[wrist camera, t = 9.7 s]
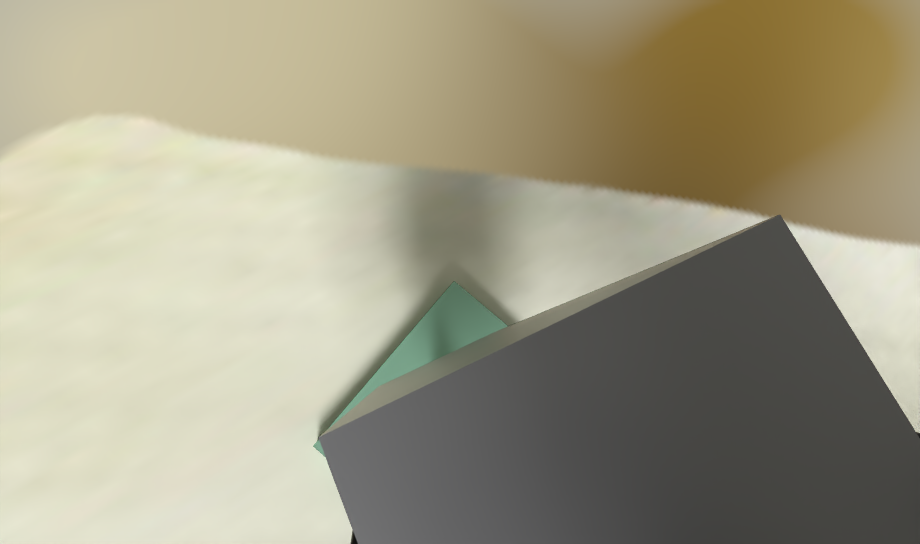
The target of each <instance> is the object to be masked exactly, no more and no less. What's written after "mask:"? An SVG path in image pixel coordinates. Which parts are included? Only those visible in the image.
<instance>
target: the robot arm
mask: <svg viewBox="0 0 920 544" xmlns="http://www.w3.org/2000/svg"><path fill="white" fill-rule="evenodd" d="M916 433H917V435H918V436H919V438H920V433H918V432H916ZM351 544H358V542H357V540H356V537H355V534H354V532H353V531H352V538H351Z"/></svg>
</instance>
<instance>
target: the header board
mask: <svg viewBox="0 0 920 544" xmlns="http://www.w3.org/2000/svg"><path fill="white" fill-rule="evenodd" d="M505 327H508V326H507V325H506V324H505V323H504V322H503V321H501V320H500V319H499V318H498V317H497V316H495V315H494V314H493V313H492V312H491V311H489V310H488V309H487V308H486V307H485V306H483V305H482V304H481V303H480V302H479V301H477V300H476V299H475V298H474V297H473V296H472V295H470V294H469V293H468V292H467V291H466V290H464V289H463V288H462V287H461V286H460V285H458V284H457V283H456V282H455V281H454V282H453V283H452V284H451V285H450V286H449V287H448V289H447V290H446V291H445V292H444V293H443V294H442V296H441V297H440V298H439V299H438V300H437V301H436V303H435V304H434V305H433V306H432V307H431V309H430V310H429V311H428V312H427V313H426V314H425V316H424V317H423V318H422V319H421V320H420V321H419V323H418V324H417V325H416V326H415V327H414V328H413V330H412V331H411V332H410V333H409V334H408V335H407V337H406V338H405V339H404V340H403V341H402V343H401V344H400V345H399V346H398V347H397V348H396V350H395V351H394V352H393V353H392V354H391V355H390V357H389V358H388V359H387V360H386V361H385V362H384V364H383V365H382V366H381V367H380V368H379V369H378V371H377V372H376V373H375V374H374V375H373V376H372V378H371V379H370V380H369V381H368V382H367V384H366V385H365V386H364V387H363V388H362V389H361V391H360V392H359V393H358V394H357V395H356V396H355V398H354V399H353V400H352V401H351V402H350V403H349V405H348V406H347V407H346V408H345V409H344V410H343V412H342V413H341V414H340V415H339V416H338V417H337V419H336V420H335V421H334V422H333V423H332V425H334V424H335V423H336V422H337V421H338V420H339V419H341V418H342V417H343V416H344V415H345V414H347V413H348V412H349V411H350V410H351V409H353V408H354V407H355V406H356V405H357V404H358V403H360V402H361V401H362V400H363V399H364V398H366V397H367V396H368V395H369V394H370V393H371V392H373V391H374V390H375V389H376V388H377V387H379V386H380V385H383V384H385V383H387V382H389V381H391V380H393V379H395V378H398V377H400V376H402V375H404V374H406V373H408V372H410V371H412V370H415V369H417V368H419V367H421V366H423V365H425V364H427V363H430V362H432V361H434V360H436V359H438V358H440V357H442V356H444V355H447V354H449V353H451V352H453V351H455V350H457V349H459V348H462V347H464V346H466V345H468V344H470V343H472V342H474V341H476V340H479V339H481V338H483V337H485V336H487V335H489V334H491V333H494V332H496V331H498V330H501V329H503V328H505ZM332 425H331V426H332ZM331 426H330V427H331ZM330 427H329V428H330ZM329 428H328V429H329ZM328 429H327V430H328ZM313 447H315V448H316V449H317V450H318V451H319V452H320V453H321V454H323V455H324V456H325V454H324V451H323V449H322V446H321V443H320V441H319V440H318V441H317V442H316V443H315V444H314V446H313Z"/></svg>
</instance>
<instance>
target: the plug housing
mask: <svg viewBox="0 0 920 544" xmlns="http://www.w3.org/2000/svg"><path fill="white" fill-rule="evenodd" d="M318 438H319V441H320V443H321V446H322V449H323V451H324V454H325V457H326V460H327V462H328V465H329V468H330V470H331V473H332V476H333V478H334V481H335V484H336V486H337V489H338V492H339V494H340V497H341V500H342V502H343V505H344V508H345V510H346V513H347V516H348V518H349V521H350V524H351V526H352V529H353V532H354V534H355V537H356V540H357V542H358V544H920V438H919V436H918V435H917V433H916V432H915V430H914V428H913V427H912V425H911V424H910V422H909V420H908V419H907V417H906V416H905V414H904V412H903V411H902V409H901V408H900V406H899V404H898V403H897V401H896V400H895V398H894V396H893V395H892V393H891V392H890V390H889V388H888V387H887V385H886V384H885V382H884V380H883V379H882V377H881V376H880V374H879V372H878V371H877V369H876V368H875V366H874V364H873V363H872V361H871V360H870V358H869V356H868V355H867V353H866V352H865V350H864V348H863V347H862V345H861V344H860V342H859V340H858V339H857V337H856V336H855V334H854V332H853V331H852V329H851V327H850V326H849V324H848V323H847V321H846V319H845V318H844V316H843V315H842V313H841V311H840V310H839V308H838V307H837V305H836V303H835V302H834V300H833V299H832V297H831V295H830V294H829V292H828V291H827V289H826V287H825V286H824V284H823V283H822V281H821V279H820V278H819V276H818V275H817V273H816V271H815V270H814V268H813V267H812V265H811V263H810V262H809V260H808V259H807V257H806V255H805V254H804V252H803V251H802V249H801V247H800V246H799V244H798V243H797V241H796V239H795V238H794V236H793V235H792V233H791V231H790V230H789V228H788V227H787V225H786V223H785V222H784V220H783V219H782V217H781V215H777V216H775V217H773V218H770V219H768V220H765V221H763V222H760V223H758V224H756V225H753V226H751V227H748V228H746V229H743V230H741V231H739V232H736V233H734V234H731V235H729V236H726V237H724V238H722V239H719V240H717V241H714V242H712V243H709V244H707V245H705V246H702V247H700V248H697V249H695V250H692V251H690V252H688V253H685V254H683V255H680V256H678V257H675V258H673V259H671V260H668V261H666V262H663V263H661V264H658V265H656V266H654V267H651V268H649V269H646V270H644V271H641V272H639V273H637V274H634V275H632V276H629V277H627V278H624V279H622V280H620V281H617V282H615V283H612V284H610V285H607V286H605V287H603V288H600V289H598V290H595V291H593V292H590V293H588V294H586V295H583V296H581V297H578V298H576V299H573V300H571V301H569V302H566V303H564V304H561V305H559V306H556V307H554V308H552V309H549V310H547V311H544V312H542V313H539V314H537V315H535V316H532V317H530V318H527V319H525V320H522V321H520V322H518V323H515V324H513V325H510V326H508V327H505V328H503V329H501V330H498V331H496V332H494V333H491V334H489V335H487V336H485V337H483V338H481V339H479V340H476V341H474V342H472V343H470V344H468V345H466V346H464V347H462V348H459V349H457V350H455V351H453V352H451V353H449V354H447V355H444V356H442V357H440V358H438V359H436V360H434V361H432V362H430V363H427V364H425V365H423V366H421V367H419V368H417V369H415V370H412V371H410V372H408V373H406V374H404V375H402V376H400V377H398V378H395V379H393V380H391V381H389V382H387V383H385V384H383V385H380V386H379V387H377V388H376V389H375V390H374V391H373V392H371V393H370V394H369V395H368V396H367V397H366V398H364V399H363V400H362V401H361V402H360V403H358V404H357V405H356V406H355V407H354V408H353V409H351V410H350V411H349V412H348V413H347V414H345V415H344V416H343V417H342V418H341V419H339V420H338V421H337V422H336V423H335V424H334V425H332V426H331V427H330V428H329V429H328V430H326V431H325V432H324V433H323V434H322V435H320V436H319V437H318Z"/></svg>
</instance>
